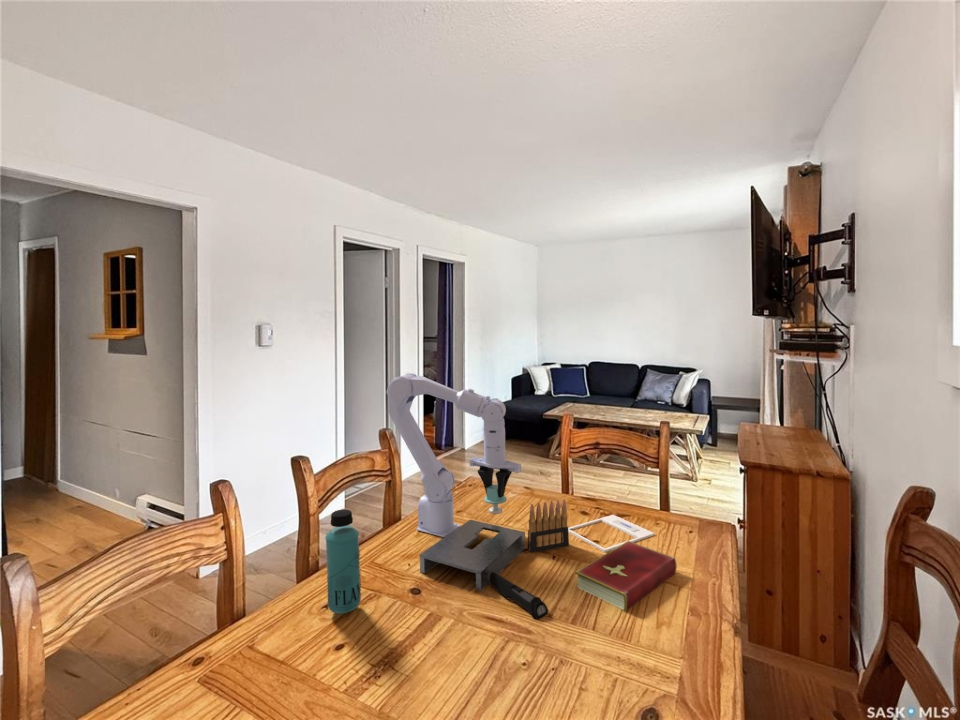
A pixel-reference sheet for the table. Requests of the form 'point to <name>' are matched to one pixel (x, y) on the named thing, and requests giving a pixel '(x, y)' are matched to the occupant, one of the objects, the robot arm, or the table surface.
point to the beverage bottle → (343, 563)
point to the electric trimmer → (519, 596)
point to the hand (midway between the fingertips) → (495, 495)
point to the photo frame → (619, 524)
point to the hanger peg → (494, 499)
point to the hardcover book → (626, 574)
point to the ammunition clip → (548, 528)
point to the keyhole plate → (475, 551)
